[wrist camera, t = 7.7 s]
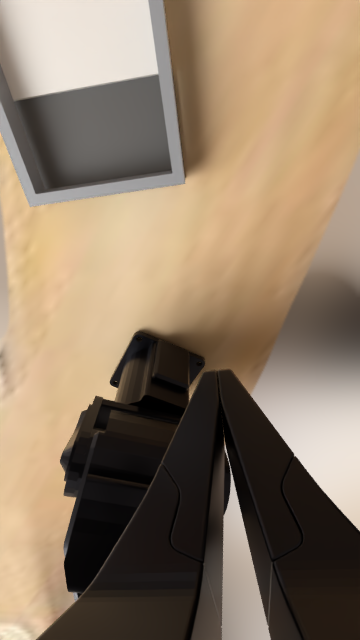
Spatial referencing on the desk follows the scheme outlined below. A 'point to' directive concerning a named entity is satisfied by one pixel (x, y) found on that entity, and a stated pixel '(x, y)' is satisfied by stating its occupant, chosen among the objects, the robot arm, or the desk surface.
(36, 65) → the trap box
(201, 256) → the desk surface
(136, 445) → the robot arm
